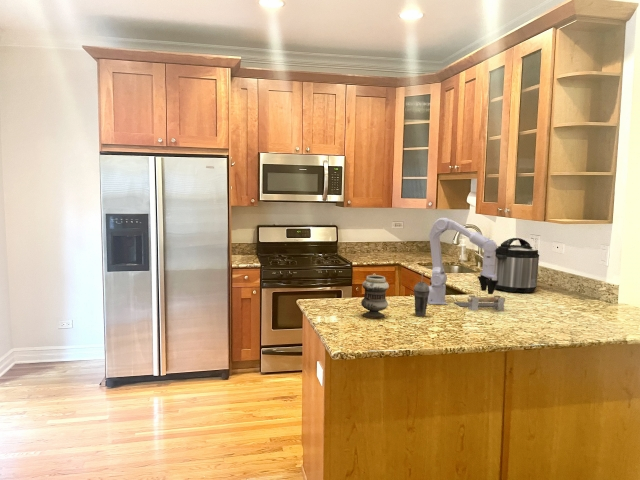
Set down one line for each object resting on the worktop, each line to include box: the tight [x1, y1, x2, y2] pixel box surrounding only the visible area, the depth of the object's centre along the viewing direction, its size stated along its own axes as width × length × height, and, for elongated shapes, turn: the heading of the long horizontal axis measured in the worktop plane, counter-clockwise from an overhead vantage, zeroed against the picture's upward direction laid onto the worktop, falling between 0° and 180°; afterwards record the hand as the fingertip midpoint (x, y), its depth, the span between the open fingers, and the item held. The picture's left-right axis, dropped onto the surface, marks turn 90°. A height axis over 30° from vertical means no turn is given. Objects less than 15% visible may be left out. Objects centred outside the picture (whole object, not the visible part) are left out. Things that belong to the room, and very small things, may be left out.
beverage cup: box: [413, 272, 430, 318], centre depth 213 cm, size 7×7×20 cm
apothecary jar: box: [360, 274, 390, 319], centre depth 210 cm, size 12×12×18 cm
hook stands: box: [467, 294, 505, 312], centre depth 230 cm, size 16×5×6 cm, turn 95°
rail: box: [467, 296, 506, 303], centre depth 230 cm, size 18×2×2 cm, turn 95°
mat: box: [453, 301, 494, 308], centre depth 239 cm, size 22×8×1 cm, turn 95°
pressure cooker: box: [494, 237, 540, 294], centre depth 285 cm, size 30×28×32 cm
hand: (486, 292), depth 230 cm, fingers open, 7 cm apart
